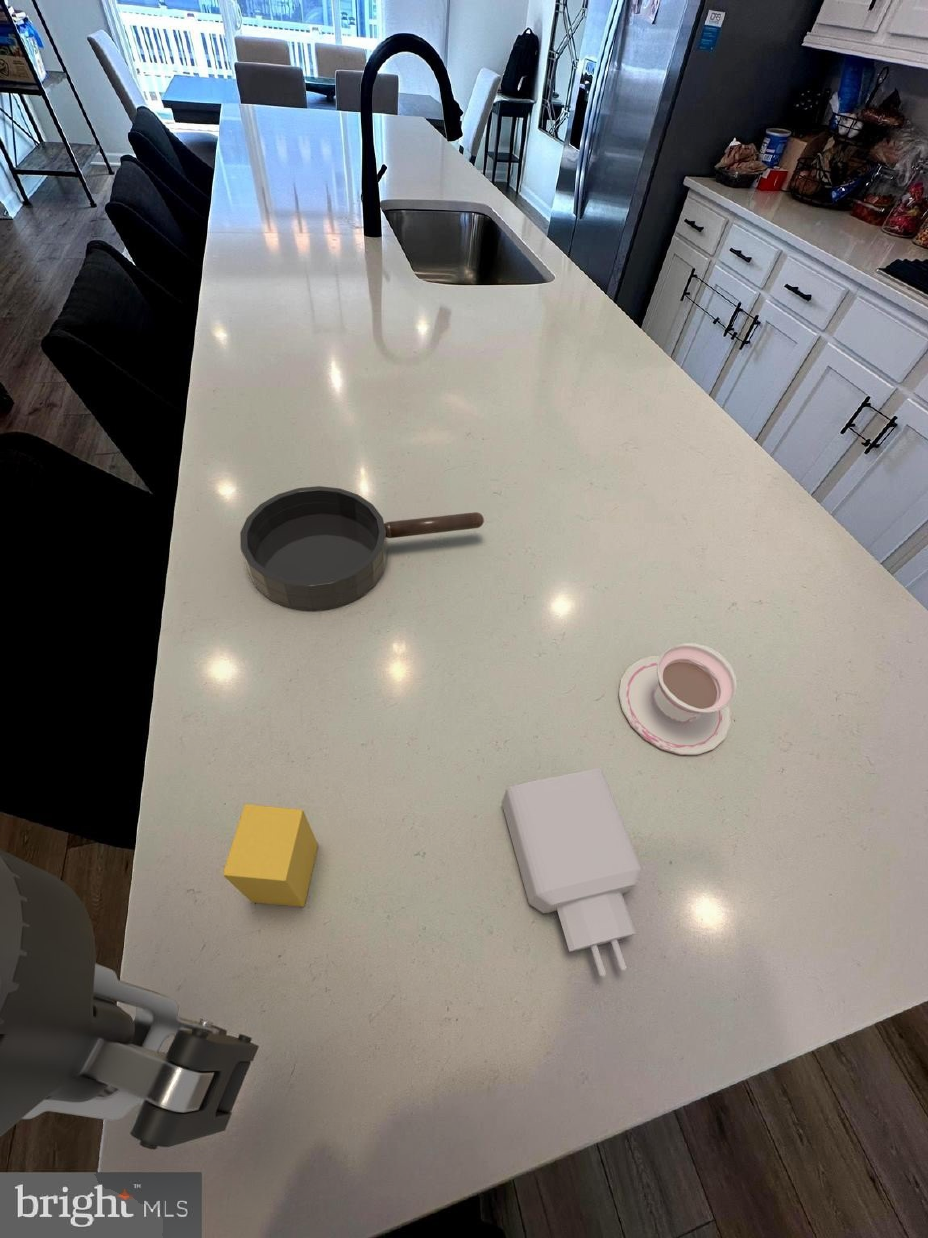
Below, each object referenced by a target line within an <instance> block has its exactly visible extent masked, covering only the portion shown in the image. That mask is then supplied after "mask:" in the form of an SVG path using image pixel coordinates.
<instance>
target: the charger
mask: <svg viewBox="0 0 928 1238" xmlns="http://www.w3.org/2000/svg"><path fill="white" fill-rule="evenodd" d="M502 797H503V798H502V799H501V805H502V809H503V812H504V816H505V820H506V824H507V828H508V832H509V834H510V838H511V842H512V845H513V846H512V847H513V850H514V854H515V857H516V860H517V864H518V868H519V871H520V875H521V880H522V882H523V886H524V890H525V894H526V897H527V901H528V904H529V905H530V906H532V907H534V908H535V909H536V910H537V911H539V912H541V913H542V914H547V913H552V912H557V914H558V918H559V921H560V924H561V928H562V931H563V934H564V938H565V941H566V944H567V945H566V946H567V949H568V952H575V951H579V950H584V949H588V948H590V949H591V953H592V956H593V959H594V962H595V965H596V968H597V972H598V975H599V976H600V977H601V978H604V977H605V976H606V975H607V972H606V968H605V966H604V962H603V960H602V956H601V954H600V951H599V950H600V949H599V946H600V945H604V944H608V943H611V944H610V945H611V947H612V949H613V952H614V955H615V959H616V962H617V964H618V967H619V970H620V971H621V972H625V971H626V970H627V965H626V962H625V959H624V956H623V953H622V950H621V947H620V944H619V941H618V940H622V939H625V938H628V937H631V936H634V935H637V931H636V928H635V926H634V922H633V921H632V918H631V915H630V911H629V909H628V907H627V904H626V900H625V899H624V895H623V894H625V893H626V892H628V891H630V890H631V889H632V888H633V887H635V886H636V884H637V883H638V880H639V877H640V875H641V873H642V866H641V864H640V862H639V859H638V856H637V854H636V851H635V848H634V847H633V843H632V841H631V838H630V836H629V833H628V831H627V828H626V826H625V823H624V820H623V818H622V815H621V813H620V810H619V808H618V804H617V803H616V800H615V798H614V795H613V792H612V790H611V788H610V784H609V782H608V779H607V777H606V775H605V772H604V769H601V768H594V769H588V770H582V771H577V772H573V773H568V774H562V775H558V776H551V777H548V778H542V779H538V780H532V781H527V782H524V783H523V782H522V783H519V784H516V785H512V786H510V787H508V788H506V789H505V792H504V794H503V796H502Z"/></svg>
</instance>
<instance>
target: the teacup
mask: <svg viewBox="0 0 928 1238" xmlns="http://www.w3.org/2000/svg"><path fill="white" fill-rule="evenodd" d="M737 687H738V683H737V677H736V673H735V671H734V669H733V667H732V665H731V663H730V662H729V661H728V660H727V658H725V656H724V655H722V654H721V653H720V652H718V650H715V649H714V648H711V647H710V646H707V645H705V644H701V643H695V642H684V643H683V642H682V643H679V644H676V645H673V646H671V647H669V648H667V649H666V650H665V651H664V652H663V653H662V654H661V655H651V656H647V657H644V658H640V659H638V660H637V661H635V662H634V663H633V664H631V665H629V666H628V667H627V669H626V671H625V672H624V674H623V676H622V677H621V679H620V680H619V687H618V688H619V689H618V699H619V702H620V707H621V711H622V713H623V715H624V716H625V718H626V720H627V721H628V722H629V725H630V726H631V728H633V730H635V731H636V732H637V734H639V735H640V737H641V738H642V739H644V740H645V741H647V742H648V743H650V744H652V745H653V746H654V747H656V748H658V749H660V750H662V751H665V752H669V753H672V754H676V755H680V756H698V755H701V754H705V753H707V752H711V751H714V749H716V747H718V746H719V745H720V744H721V743H722V742H723V741H724V740H725V739H726V737H727V734H728V732H729V730H730V728H731V708H730V706H729V705H730V704H731V703H732V701H733V700H734V698H735V696H736V693H737Z"/></svg>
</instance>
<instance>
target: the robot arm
mask: <svg viewBox="0 0 928 1238" xmlns="http://www.w3.org/2000/svg"><path fill="white" fill-rule="evenodd" d="M115 1002H118V1003H122V1004H124V1005H128V1006H131V1007H134V1008H135V1017H134V1019H133V1016H132V1015H131V1014H129V1013H128V1012H127V1011H125V1010H124V1009H123V1008H122V1007H120V1006H119V1005H118V1004H116V1003H115ZM179 1013H180V1006H179V1003H178V1001H177V1000H176V999H174V998H172V997H170V996H167V995H164V994H162V993H160V992H158V991H155V990H152V989H149V988H145V987H142V986H139V985H136V984H133V983H130V982H126V981H124V980H120V979H119V978H118V975H117V973H116V972H115V970H113V969H111V968H108V967H106V966H105V965H101V964H99V963H97V962H96V941H95V933H94V928H93V926H92V921H91V918H90V916H89V913H88V912H87V909H86V908H85V905H84V904H83V902H82V901H81V899H80V897H79V896H78V894H77V893H76V892H75V891H74V890H73V889H72V888H71V887H70V886H69V885H67V883H65V882H64V881H63V880H61V879H60V878H58V876H55V875H53V874H52V873H50V872H47V871H46V870H44V869H42V868H40V867H37V866H36V865H33V864H32V863H29V862H27V861H25V860H23V859H21V858H19V857H17V856H16V855H13V854H11V853H9V852H7V851H5V850H2V849H0V1138H1V1137H2V1136H4V1135H5V1134H6V1133H7V1132H8V1131H9V1130H10V1129H12V1128H13V1127H14V1126H15V1125H16V1124H17V1123H19V1122H20V1121H21V1120H31V1119H34V1118H36V1117H39V1116H40V1115H41V1114H43V1113H45V1112H53V1113H58V1114H59V1113H60V1114H66V1115H74V1116H79V1117H86V1118H92V1119H93V1118H94V1119H100V1120H107V1121H111V1122H115V1121H119V1120H121V1119H123V1118H124V1117H126V1115H128V1114H129V1113H130V1111H132V1109H133V1108H135V1107H136V1106H138V1105H141V1106H140V1108H139V1110H138V1112H137V1114H136V1116H135V1118H134V1120H133V1123H134V1124H133V1126H132V1128H131V1130H130V1135H131V1137H133V1138H134V1139H136V1140H138V1141H139V1143H138V1144H139V1146H141V1147H142V1148H145V1149H149V1150H155V1151H156V1150H157V1149H158V1147H161V1148H172V1147H175V1146H178V1145H180V1144H184V1143H188V1142H191V1141H194V1140H197V1139H198V1140H199V1139H201V1138H205V1137H208V1136H211V1135H215V1134H218V1133H221V1132H225V1131H226V1129H227V1127H228V1124H229V1122H230V1119H231V1117H232V1114H233V1113H232V1111H233V1108H234V1106H235V1104H236V1100H237V1098H238V1096H239V1094H240V1091H241V1088H242V1086H243V1083H244V1081H245V1078H246V1076H247V1074H248V1071H249V1069H250V1066H251V1064H252V1062H254V1060H255V1057H256V1054H257V1052H258V1049H259V1047H260V1046H259V1045H257V1044H255V1043H253V1042H252V1040H253V1038H252V1037H250V1036H248V1035H245V1034H241V1033H239V1034H238V1037H236V1036H234V1035H233V1036H232V1035H228V1030H227V1029H224V1028H222V1027H218V1026H216V1025H214V1024H213V1023H214V1022H212V1021H210V1020H207V1019H204V1018H200V1019H199V1022H198V1021H195V1020H192V1019H190V1018H189V1019H188V1018H185V1017H182V1016H179ZM170 1036H171V1037H172V1036H174V1038H173V1040H172V1042H171V1044H170V1046H169V1047H168V1049H167V1052H164V1051H160V1049H161V1047H162V1045H163V1043H164V1042H165V1041H166V1039H168V1038H169V1037H170Z"/></svg>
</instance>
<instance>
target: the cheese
mask: <svg viewBox="0 0 928 1238" xmlns="http://www.w3.org/2000/svg"><path fill="white" fill-rule="evenodd" d="M312 829H313V828H312V827H311V825H310V822H309V821H308V819H307V816H306V813H305V812H304V809H299V808H291V807H280V806H270V805H269V806H267V805H259V804H249V803H244V805H243V808H242V810H241V813H240V817H239V821H238V823H237V827H236V830H235V833H234V836H233V840H232V844H231V846H230V849H229V852H228V855H227V859H226V861H225V865H224V868H223V871H222V876H223V877H224V878H225V879H226V880H227V881H228V882H229V883H230V884H231V885H232V886H233V887H235V888H236V889H237V890H238V891H239V892H240V893H241V895H243V896H244V897H245V898H246V899H247V900H249V902H250V903H257V904H268V905H277V906H278V905H279V906H289V907H301V908H304V907H305V906H306V901H307V897H308V892H309V887H310V884H311V879H312V875H313V869H314V865H315V862H316V861H315V860H316V856H317V851H318V847H319V844H318V841H317V839H316V836H315V834H314V832H313V830H312Z"/></svg>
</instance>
